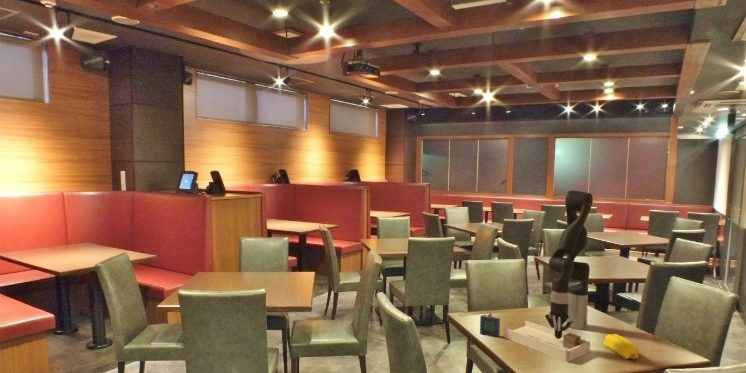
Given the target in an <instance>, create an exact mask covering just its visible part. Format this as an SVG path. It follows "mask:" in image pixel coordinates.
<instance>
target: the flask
mask: <svg viewBox="0 0 746 373" xmlns="http://www.w3.org/2000/svg"><path fill="white" fill-rule="evenodd" d="M492 315H493V313H492V312H489V313H488V314H485V313H484V314H481V315H480V321H479V323H480V324H479V334H480V335H483V336H486V337H487V336H488V337H489V336H490V337H496V338H497V337H500V332H501V331H500V330H501V326H500V325H501V317H500V316H492Z"/></svg>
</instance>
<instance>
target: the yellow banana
mask: <svg viewBox="0 0 746 373" xmlns="http://www.w3.org/2000/svg"><path fill="white" fill-rule="evenodd" d="M603 345H604V346H605V347H606V348H607V349H609V350H611V351H613V352H615V353H616V354H617V355H619V356H621V358H623V359H625V360H627V359H630V360H636V359H639V350H638V347H637V346H636V345H635V344H634V343H633V342H631V341H630V340H628V339H627V338H626V337H624V336H622V335H619V334H617V333H613V334H610V333H608V334H607V335H606V336H605V337H604V340H603Z"/></svg>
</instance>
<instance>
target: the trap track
mask: <svg viewBox="0 0 746 373" xmlns="http://www.w3.org/2000/svg"><path fill="white" fill-rule="evenodd" d="M524 323H525V324H524V326H521V327H517V328H514V329H513V330H512V329H510V328H508V327H504V328H503V338H505V339H507V340H510V341H512V342H514V343H517V344H520V345H522V346H525V347H528V348H530V349H532V350H536V351H538V352H541V353H543V354H545V355H548V356H551V357H553V358H556V359H559V360H561V361H564V362H566V363H569V362H572V361H573V360H576V359H578V358H580V357H581V356H584V355H586V354H588V353H590V350H591V341H588V340H585V339H582V338H580V345H578V346H576V347H574V348H571V349H569V348H566V347H564V346H563V339H564V335H566V334H567V333H565V332H562V337H561V338H560V339H557V338H555V329H554V328H549V327H546V326H544V325H541V324H538V323H534V322H532V321H528V320H525V322H524Z"/></svg>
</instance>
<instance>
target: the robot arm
mask: <svg viewBox="0 0 746 373" xmlns="http://www.w3.org/2000/svg"><path fill="white" fill-rule="evenodd" d="M593 201H594V198H593V195H592V193H590V192H586V191H580V190H574V189H573V190H568V191H567V192H566V195H565V201H564V202H565V203H564V205H565V214H566V227H565V229H563V231H562V232H561V234H560V238H559V241H558V245H557V247H556V248H555V250H554V252H553V253H552V255H551V256H550V257H549V260H548V267H549V269H550V271H552V272H556V273H559V274H561V276H555V277H553V278H552V281H551V292H550V306H549V307H550V310H549V313H547V314H545V315H544V317H545V319H546V321H547V323H548V325H549V327H551V329H553V330H555V338H557V339H560V338H561V337H562V333H563V332H564V331H567V330H568V329H569V328H572V329H576V330H585V329H587V327H588V311H589V310H588V303H589V302H588V299H589V297H588V296H589V280H590V264H589V263H588V262H583V261H582V262H581V261H575V259H576V258H577V256H578V255H579V254H580V253H582V252H583V250H584V249H585V248H586V247H587V244H588V231H587V229H586V226H585V225H584V224H585V222H586V220H587V218H588V216H589V214H590V212H591V208H592V206H593ZM577 212H580V213H579V215H578V214H577ZM564 256H566V257H564ZM571 280H575V281H581V282H579V283H577V284H573V285H570V281H571Z"/></svg>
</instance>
